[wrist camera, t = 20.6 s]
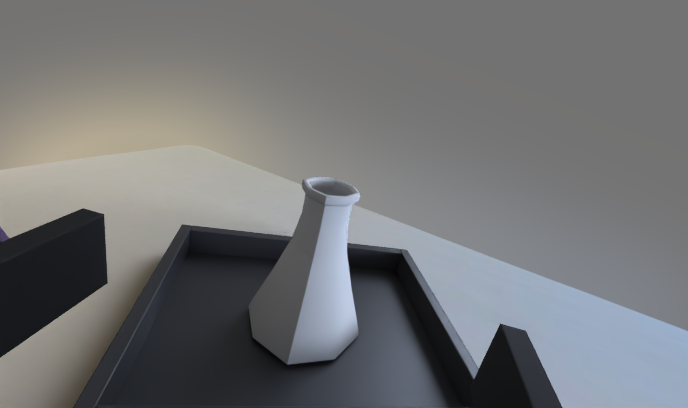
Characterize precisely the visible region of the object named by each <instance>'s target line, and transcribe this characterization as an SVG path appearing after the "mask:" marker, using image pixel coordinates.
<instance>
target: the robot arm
mask: <svg viewBox="0 0 688 408" xmlns="http://www.w3.org/2000/svg"><path fill="white" fill-rule="evenodd" d="M107 283H108V282H107V263H106V244H105V225H104V214H101V213H97V212H94V211H90V210H87V209H81V210H78V211H76V212H73V213H71V214H68V215H66V216H64V217H61V218H59V219H56V220H54V221H51V222H49V223H46V224H44V225H42V226H39V227H37V228H34V229H32V230H29V231H27V232H25V233H22V234H20V235H17V236H15V237H12V238H10V239H7V240H5V241H3V242H0V357H2V356H3V355H5V354H6V353H7V352H9V351H10V350H12V349H13V348H15V347H16V346H18V345H19V344H20V343H22V342H23V341H25V340H26V339H28V338H29V337H30V336H32V335H33V334H35V333H36V332H38V331H39V330H41V329H42V328H43V327H45V326H46V325H48V324H49V323H51V322H52V321H54V320H55V319H56V318H58V317H59V316H61V315H62V314H64V313H65V312H66V311H68V310H69V309H71V308H72V307H74V306H75V305H77V304H78V303H79V302H81V301H82V300H84V299H85V298H87V297H88V296H89V295H91V294H92V293H94V292H95V291H97V290H98V289H100V288H101V287H102V286H104V285H105V284H107ZM470 394H471V398H472V403H473V408H562V406H561V404H560V402H559V400H558V398H557V395H556V393H555V391H554V389H553V387H552V385H551V383H550V381H549V379H548V377H547V374H546V372H545V370H544V368H543V366H542V364H541V362H540V360H539V358H538V356H537V353H536V351H535V349H534V347H533V345H532V343H531V341H530V339H529V337H528V334H527V332H526V331H524V330H521V329H517V328H514V327H510V326H506V325H503V324H500V326H499V328H498V330H497V332H496V334H495V336H494V338H493V340H492V342H491V345H490V347H489V349H488V351H487V353H486V355H485V357H484V359H483V361H482V364H481V366H480V368H479V370H478V372H477V374H476V376H475V378H474V380H473V383H472V385H471V387H470Z"/></svg>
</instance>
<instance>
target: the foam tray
mask: <svg viewBox="0 0 688 408" xmlns="http://www.w3.org/2000/svg"><path fill="white" fill-rule="evenodd" d="M291 239H292V237H289V236H280V235H271V234H262V233H253V232H244V231H235V230H227V229H218V228H209V227H200V226H190V225H182V226H181V227H180V229H179V231H178V232H177V234H176V236H175V237H174V239H173V241H172V242H171V244H170V246H169V247H168V249H167V251H166V252H165V254H164V256H163V258H162V259H161V261H160V263H159V264H158V266H157V268H156V269H155V271H154V273H153V274H152V276H151V278H150V279H149V281H148V283H147V284H146V286H145V288H144V289H143V291H142V293H141V294H140V296H139V298H138V300H137V301H136V303H135V305H134V306H133V308H132V310H131V311H130V313H129V315H128V316H127V318H126V320H125V321H124V323H123V325H122V326H121V328H120V330H119V331H118V333H117V335H116V337H115V338H114V340H113V342H112V343H111V345H110V347H109V348H108V350H107V352H106V353H105V355H104V357H103V358H102V360H101V362H100V363H99V365H98V367H97V368H96V370H95V372H94V373H93V375H92V377H91V379H90V380H89V382H88V384H87V385H86V387H85V389H84V390H83V392H82V394H81V395H80V397H79V399H78V400H77V402H76V404H75V405H74V407H73V408H473V403H472V398H471V394H470V387H471V385H472V383H473V380H474V378H475V376H476V374H477V372H478V370H479V369H478V367H477V365H476V364H475V362H474V360H473V359H472V357H471V355H470V354H469V352H468V350H467V349H466V347H465V345H464V344H463V342H462V340H461V339H460V337H459V335H458V334H457V332H456V330H455V329H454V327H453V325H452V324H451V322H450V321H449V319H448V317H447V316H446V314H445V312H444V311H443V309H442V307H441V306H440V304H439V302H438V301H437V299H436V297H435V296H434V294H433V292H432V291H431V289H430V287H429V286H428V284H427V282H426V281H425V279H424V277H423V276H422V274H421V272H420V271H419V269H418V267H417V266H416V264H415V262H414V261H413V259H412V257H411V256H410V254H409V252H408V251H407V250H403V249H400V250H399V249H395V248H386V247H377V246H368V245H360V244H351V243H347V256H348V264H349V272H350V280H351V288H352V295H353V300H354V306H355V312H356V318H357V324H358V332H359V336H358V337H357V338H356V339H355V340H354V341H353V342H352V343H351V344H349V345H348V346H347V347H346V348H345V349H344V350H343V351H342V352H341V353H340V354H339V355H338V356H337V357H336V358H335V359H333V360H324V361H315V362H307V363H298V364H289V365H287V364H286V363H285V362H283V361H282V360H281V359H279V358H278V357H277V356H276V355H274V354H273V353H272V352H271V351H269V350H268V349H267V348H266V347H264V346H263V345H262V344H260V343H259V342H258V341H257V340H255V339H254V338H253V337H252V329H251V322H250V314H249V304H250V303H251V301H252V299H253V298H254V296H255V295H256V293H257V292H258V290H259V289H260V287H261V286H262V284H263V283H264V281H265V280H266V278H267V277H268V275H269V274H270V272H271V271H272V270H273V268H274V266H275V265H276V263H277V261H278V260H279V258H280V257H281V255H282V253H283V252H284V250H285V248H286V247H287V245H288V244H289V242H290V240H291Z"/></svg>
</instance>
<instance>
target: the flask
mask: <svg viewBox="0 0 688 408" xmlns="http://www.w3.org/2000/svg"><path fill="white" fill-rule="evenodd" d="M302 188H303V190H304V191H305V200H304V205H303V210H302V214H301V217H300V219H299V222H298V224H297V227H296V229H295V232H294V234H293V237H292V239H291V240H290V242H289V244H288V245H287V247H286V248H285V250H284V252H283V253H282V255H281V257H280V258H279V260H278V261H277V263H276V265H275V266H274V268H273V270H272V271H271V272H270V274H269V275H268V277H267V278H266V280H265V281H264V283H263V284H262V286H261V287H260V289H259V290H258V292H257V293H256V295H255V296H254V298H253V299H252V301H251V303H250V304H249V314H250V322H251V329H252V337H253V338H254V339H255V340H257V341H258V342H259V343H260V344H262V345H263V346H264V347H266V348H267V349H268V350H269V351H271V352H272V353H273V354H274V355H276V356H277V357H278V358H279V359H281V360H282V361H283V362H285V363H286V364H287V365H289V364H298V363H307V362H315V361H324V360H333V359H335V358H336V357H337V356H338V355H339V354H340V353H341V352H342V351H343V350H344V349H345V348H346V347H347V346H348V345H349V344H351V343H352V342H353V341H354V340H355V339H356V338H357V337H358V336H359V332H358V324H357V318H356V312H355V306H354V300H353V295H352V288H351V280H350V272H349V264H348V256H347V238H348V222H349V218H350V213H351V209H352V206H353V204H354V203H356V202H357V201H358V200H359V198H360V193H359V192H358V191H357V189H356V188H355V187H354V186H353V185H350V184H348V183H346V182H343V181H341V180H338V179H336V178H326V177H313V178H308V179H304V180H303V182H302Z"/></svg>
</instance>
